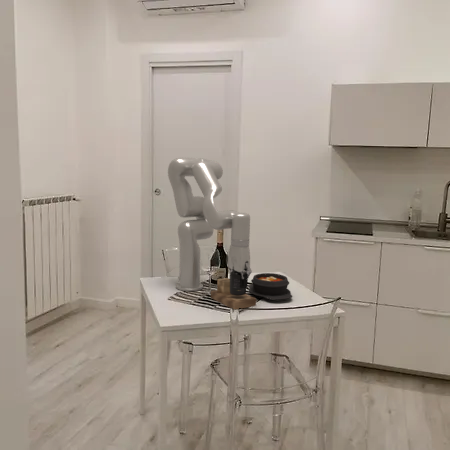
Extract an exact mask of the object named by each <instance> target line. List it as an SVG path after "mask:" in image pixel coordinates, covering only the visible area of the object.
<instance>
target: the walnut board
mask: <svg viewBox="0 0 450 450" xmlns="http://www.w3.org/2000/svg"><path fill="white" fill-rule="evenodd" d="M210 299H212V300H214V301H216V302H218V303H220V304H222V305H223V306H225V307H228V308H230V309H232V308H233V309H232V310H234V309H235V310H240V309H239V308H241V309H245V308H251V307H255V306H257V298H256V297H254V296H251V295H249V294H247V293H245V294H244V295H239V296H237V295H232V294H230V292H229V293H222V292H219V291H217V289H215V290H211V291H210Z"/></svg>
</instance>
